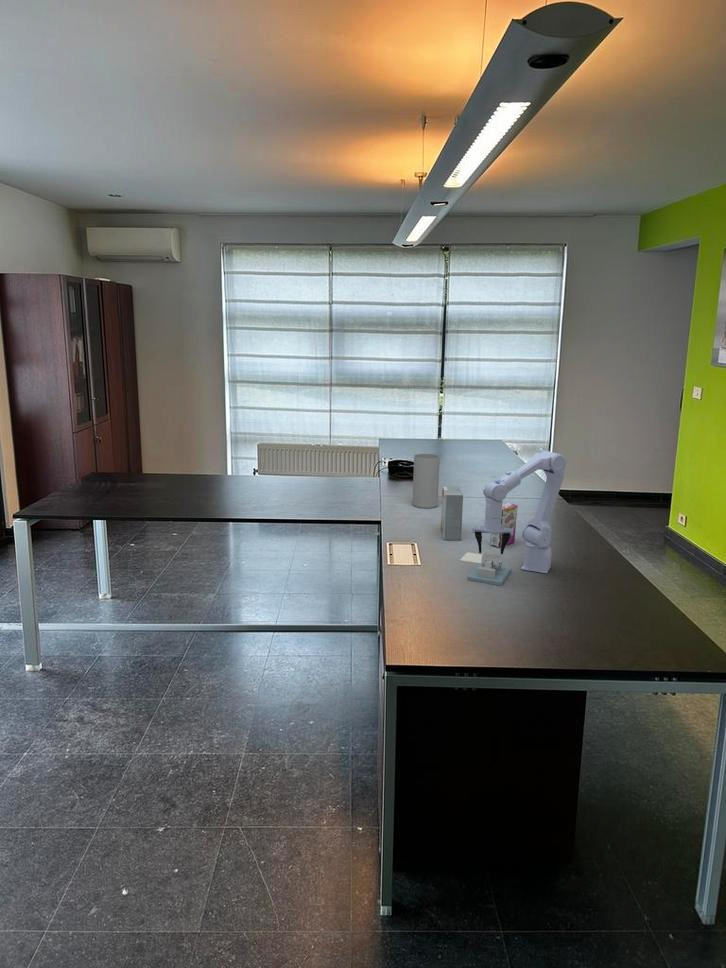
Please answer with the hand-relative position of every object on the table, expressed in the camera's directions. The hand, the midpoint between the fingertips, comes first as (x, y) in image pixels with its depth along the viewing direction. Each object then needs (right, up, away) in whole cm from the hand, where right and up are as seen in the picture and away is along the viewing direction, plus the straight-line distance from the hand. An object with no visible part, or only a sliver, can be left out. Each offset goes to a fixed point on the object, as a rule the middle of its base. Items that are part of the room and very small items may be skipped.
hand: (490, 552), depth 242 cm
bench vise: (0, -8, +2) cm, 9 cm away
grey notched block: (0, -5, +1) cm, 5 cm away
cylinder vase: (-15, +14, +95) cm, 97 cm away
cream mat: (-2, -4, +19) cm, 20 cm away
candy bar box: (+12, 0, +37) cm, 39 cm away
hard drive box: (-8, +3, +48) cm, 49 cm away
